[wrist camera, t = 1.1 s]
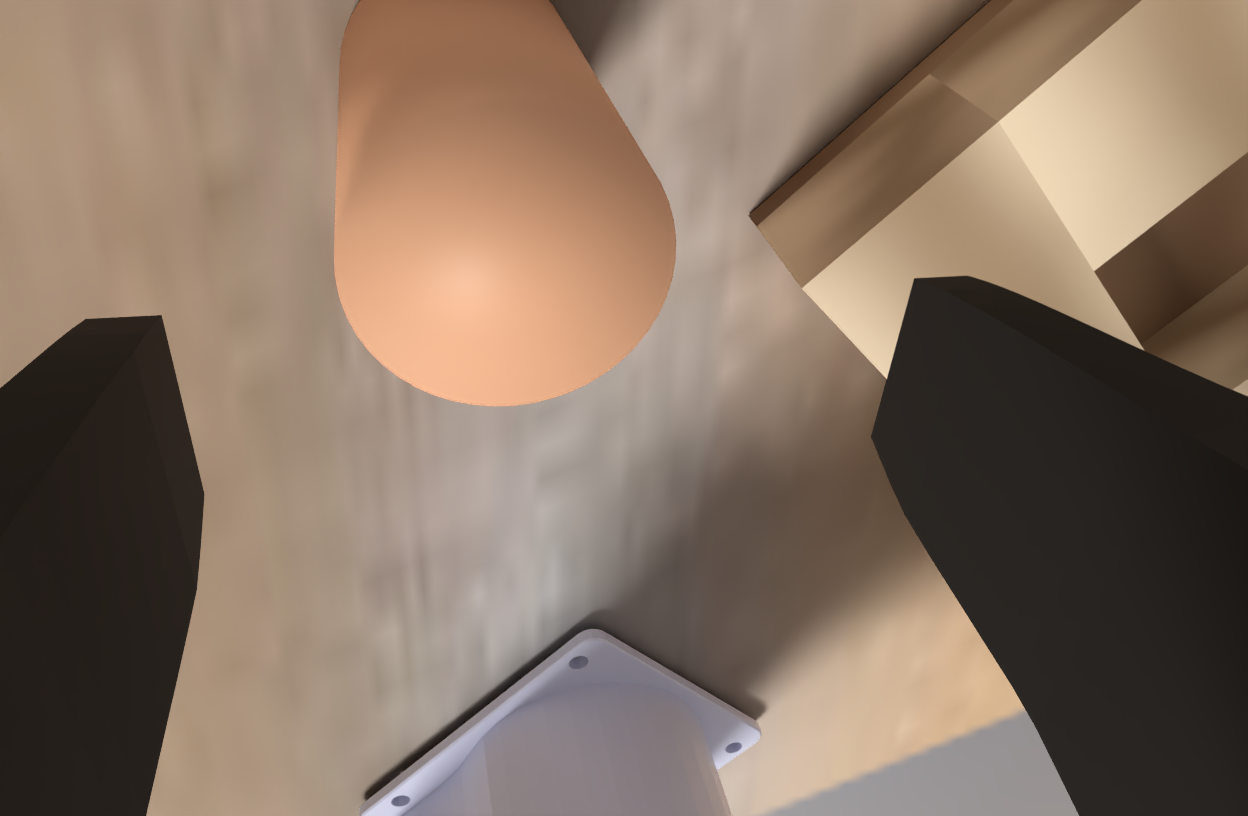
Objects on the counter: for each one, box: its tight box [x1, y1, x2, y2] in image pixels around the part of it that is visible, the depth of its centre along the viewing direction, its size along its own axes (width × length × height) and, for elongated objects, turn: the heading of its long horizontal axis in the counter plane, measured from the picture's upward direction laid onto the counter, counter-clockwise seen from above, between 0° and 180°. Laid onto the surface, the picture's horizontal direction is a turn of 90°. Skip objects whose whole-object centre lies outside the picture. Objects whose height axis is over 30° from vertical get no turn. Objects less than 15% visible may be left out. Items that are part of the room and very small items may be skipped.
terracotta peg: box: [334, 0, 676, 406], centre depth 14 cm, size 4×4×7 cm
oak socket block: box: [749, 0, 1248, 396], centre depth 21 cm, size 14×14×3 cm
